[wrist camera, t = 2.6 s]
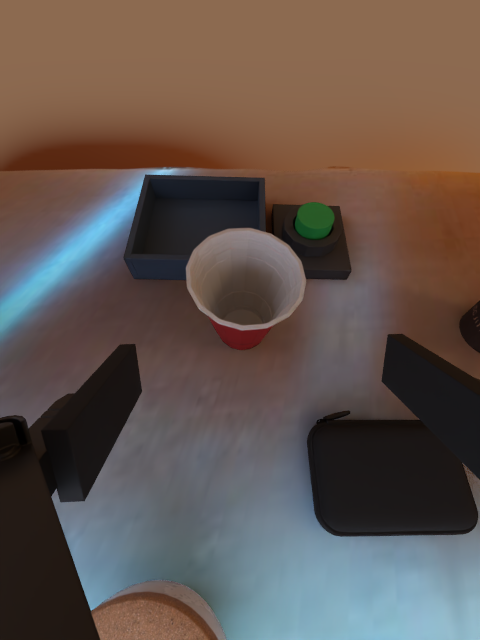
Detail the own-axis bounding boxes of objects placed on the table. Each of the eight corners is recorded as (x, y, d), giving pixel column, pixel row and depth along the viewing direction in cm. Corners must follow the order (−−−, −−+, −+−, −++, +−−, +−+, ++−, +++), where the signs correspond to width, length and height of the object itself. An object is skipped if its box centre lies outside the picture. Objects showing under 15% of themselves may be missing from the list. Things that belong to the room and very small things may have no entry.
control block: (273, 277, 40) (277, 259, 37) (271, 214, 46) (274, 192, 42) (346, 279, 40) (357, 261, 37) (335, 216, 46) (344, 194, 42)
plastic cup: (265, 387, 33) (279, 348, 23) (183, 347, 35) (160, 294, 25) (299, 312, 38) (325, 250, 27) (225, 281, 40) (221, 211, 29)
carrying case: (434, 412, 32) (301, 413, 32) (452, 406, 29) (307, 408, 29) (470, 530, 27) (313, 533, 27) (496, 537, 25) (322, 540, 24)
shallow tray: (134, 278, 40) (123, 258, 36) (152, 198, 47) (145, 174, 43) (263, 282, 40) (266, 262, 36) (262, 201, 47) (264, 177, 43)
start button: (295, 239, 39) (298, 228, 37) (293, 213, 41) (296, 201, 39) (332, 240, 39) (336, 229, 37) (328, 214, 41) (332, 202, 39)
